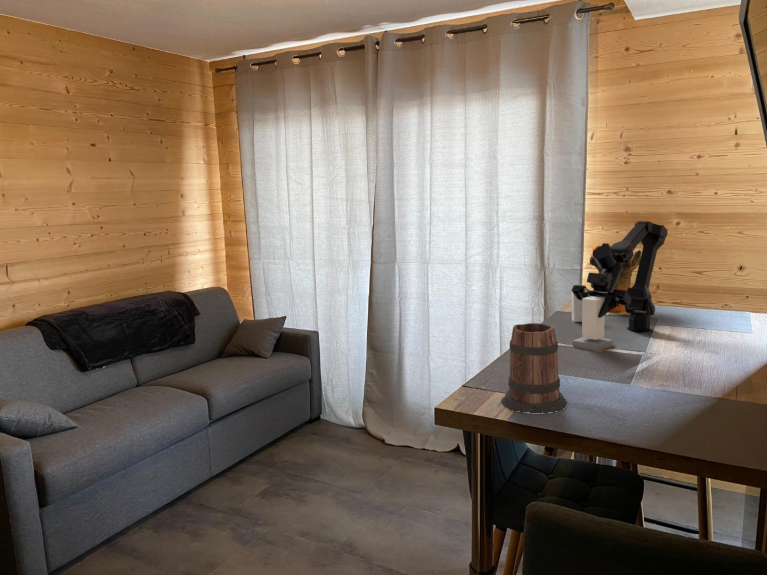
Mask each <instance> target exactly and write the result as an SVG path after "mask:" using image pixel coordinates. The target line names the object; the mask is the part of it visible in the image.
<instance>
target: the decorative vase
mask: <svg viewBox="0 0 767 575" xmlns="http://www.w3.org/2000/svg"><path fill="white" fill-rule="evenodd" d="M599 246H600V245H598V244H595V245H593V247H592V251H591V254H590V258H589V264H590V265H591V266H593V267H595V268H596V269H597V271H598V273H600V274H601V272H602V270H603V269H602V268H600V267H599V266H598V264H597V262H596V261H595V259H594V257H593V255H592V253H593V251H594V250H595V249H596V248H597V247H599ZM633 254H634V256H633V257H632V259H631V261H630V262H629V263H627V264H625V263H620V264H621V266H622V267H623V271H624V275H620V276H619V278H618V280H617V283H616V284H617V288H614V289H624V290H626V291H627V289H628V288H631V282H632V281H631V280H632V275H633V272H634V271H635V270H636V269H638V267H639V263H640V258H641V254H642V251H641V249H639V248H638V249H635V250H633ZM614 289H613V290H614ZM612 293H613V291H612ZM619 305H620V303H619ZM605 315H607V316H608V315H611V316H622V315H623V316H625V315H630V313H626V310H625V306H623V305H620V306H619V307H615V308H614V309H612V310H611V311H609V312H608V313H606V314H605Z"/></svg>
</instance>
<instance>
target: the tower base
mask: <svg viewBox="0 0 767 575" xmlns="http://www.w3.org/2000/svg"><path fill="white" fill-rule="evenodd" d="M614 346H615V344H614V343H613V346H610V347H608V348H605V349H602V350H600V351H593V350H588V349H584V348H579V347H574V346H573V344H572V345H569V347H570V348H574V349H579V350H585V351H589V352H595V353H602V352H604V351H607V350H609V349H611V348H613V347H614Z"/></svg>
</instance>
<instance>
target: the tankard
mask: <svg viewBox="0 0 767 575" xmlns="http://www.w3.org/2000/svg"><path fill="white" fill-rule="evenodd" d="M510 338H511V339H510V341H509V350H510V352H509V353H510V354H509V355H510V356H509V357H510V358H509V375H508V384H507V385H508V386H509V387H508V388H509V390H507V391H506V392H505V394H504V396H503V397H502V398H501V401H500V403H502V404H501V405H502V406H503V407H504V408H505V407H506V409H507V408H508V409H507V410H509V409H510V410H509V411H512V410H513V411H512V412H515V411H520V412H530V413H542V412H543V413H548V412H555V411H559V412H561V411H560V410H562V409H563V408H565V407H566V405H567V402H568V400H567V399H566V398H565V396H564V395H563V394H562V393H561V391H560V388H561V387H560V386H561V378H560V377H559V363H558V362H559V361H558V360H559V359H558V350H559V342H558V341H557V337H556V331H555V327H554V326H552V325H550V324H549V325H548V324H546V323H538V322H531V323H523V324H520V323H519V324H515V325H513V327H512V332H511V337H510ZM566 400H567V401H566ZM566 408H567V407H566ZM566 408H565V409H566ZM562 411H563V410H562Z"/></svg>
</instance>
